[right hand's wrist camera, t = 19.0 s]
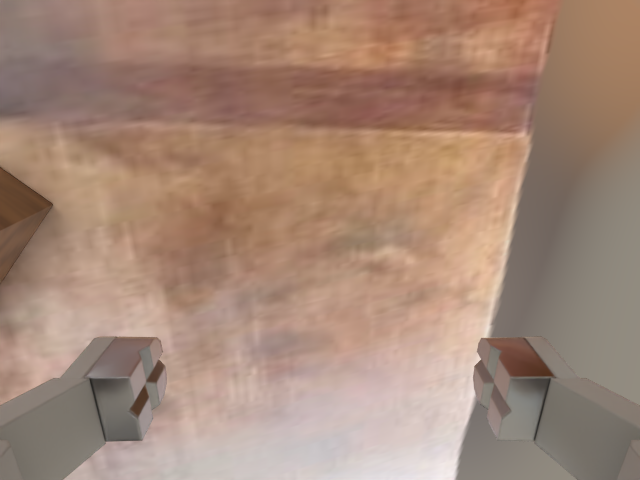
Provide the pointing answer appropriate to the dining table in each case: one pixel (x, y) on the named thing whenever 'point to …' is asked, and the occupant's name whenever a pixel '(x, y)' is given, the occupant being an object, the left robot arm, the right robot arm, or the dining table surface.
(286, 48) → the dining table surface
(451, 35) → the dining table surface
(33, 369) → the dining table surface
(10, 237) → the box
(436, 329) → the dining table surface
